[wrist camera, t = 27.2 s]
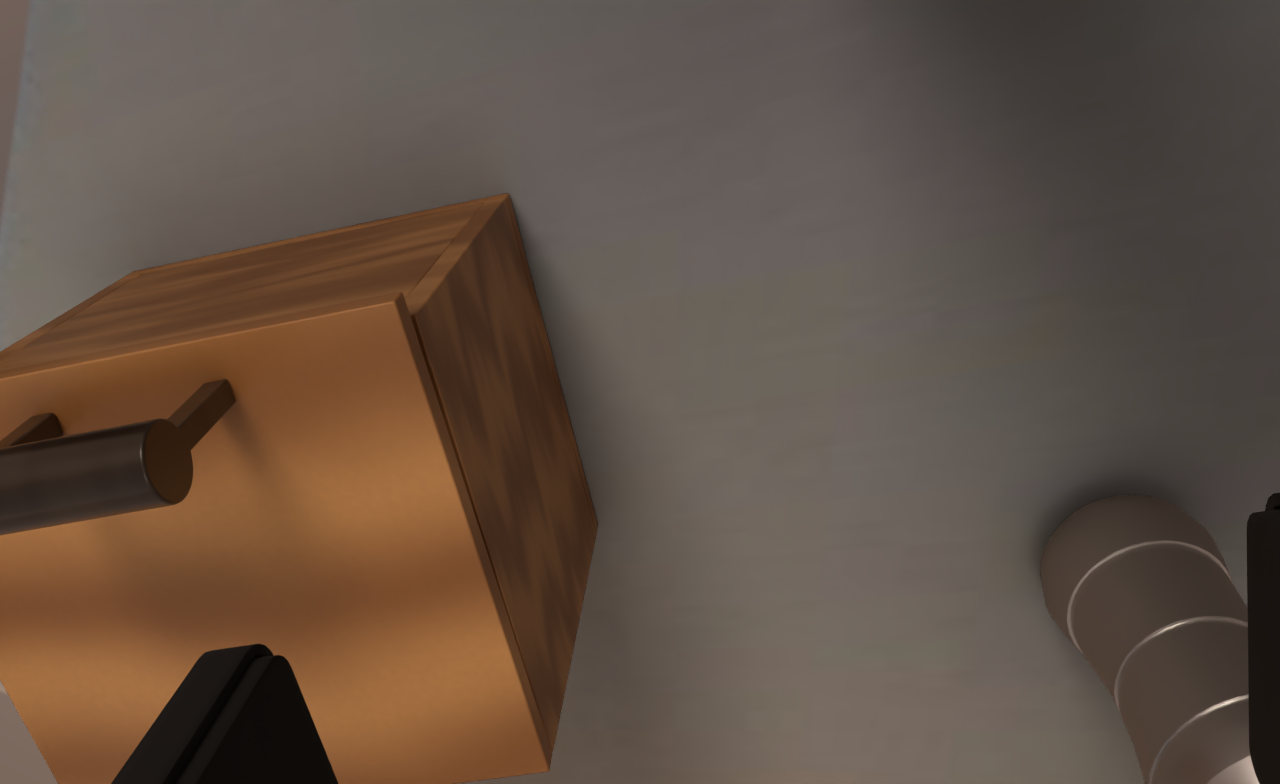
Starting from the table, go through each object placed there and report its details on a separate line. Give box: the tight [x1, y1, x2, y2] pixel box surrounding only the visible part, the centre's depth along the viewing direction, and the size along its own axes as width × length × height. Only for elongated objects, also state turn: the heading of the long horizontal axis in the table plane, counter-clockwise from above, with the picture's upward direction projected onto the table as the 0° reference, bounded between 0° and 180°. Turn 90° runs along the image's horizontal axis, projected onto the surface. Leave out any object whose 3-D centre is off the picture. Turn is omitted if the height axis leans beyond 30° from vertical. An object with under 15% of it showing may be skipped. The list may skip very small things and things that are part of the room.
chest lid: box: [0, 292, 552, 784], centre depth 30 cm, size 15×16×6 cm
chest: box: [0, 193, 598, 752], centre depth 39 cm, size 15×16×14 cm
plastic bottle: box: [1040, 495, 1259, 784], centre depth 37 cm, size 6×7×20 cm
